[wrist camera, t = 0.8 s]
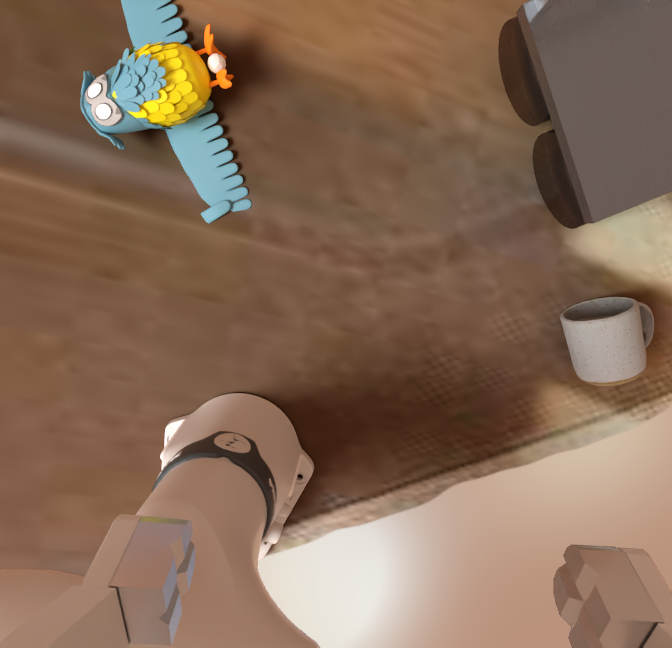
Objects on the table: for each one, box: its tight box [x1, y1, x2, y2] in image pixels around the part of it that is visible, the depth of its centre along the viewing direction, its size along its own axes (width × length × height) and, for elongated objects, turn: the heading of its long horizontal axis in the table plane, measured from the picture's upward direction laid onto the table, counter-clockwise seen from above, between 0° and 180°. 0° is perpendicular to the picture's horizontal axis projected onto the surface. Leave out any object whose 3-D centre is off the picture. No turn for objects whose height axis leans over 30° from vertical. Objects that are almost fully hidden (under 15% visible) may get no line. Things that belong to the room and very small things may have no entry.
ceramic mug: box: [560, 297, 654, 386], centre depth 54 cm, size 11×8×8 cm
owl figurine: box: [80, 0, 252, 223], centre depth 50 cm, size 28×9×15 cm
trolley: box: [499, 0, 672, 229], centre depth 41 cm, size 21×18×26 cm
